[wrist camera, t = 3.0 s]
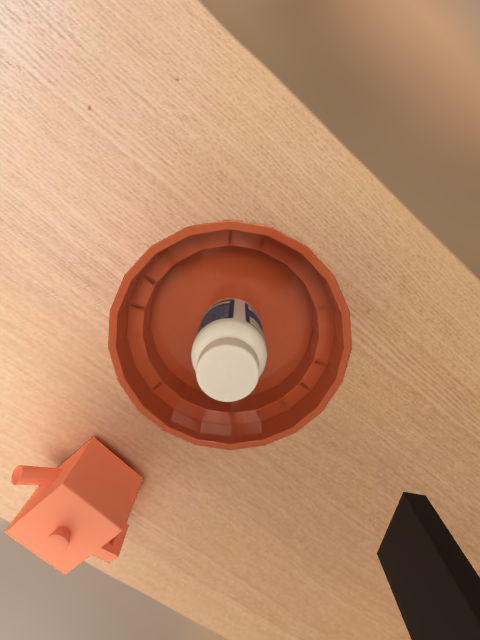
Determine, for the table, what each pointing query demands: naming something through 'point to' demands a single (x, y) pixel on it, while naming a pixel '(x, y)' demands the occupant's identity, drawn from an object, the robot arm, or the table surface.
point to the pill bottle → (229, 350)
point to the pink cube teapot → (76, 507)
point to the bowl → (185, 318)
